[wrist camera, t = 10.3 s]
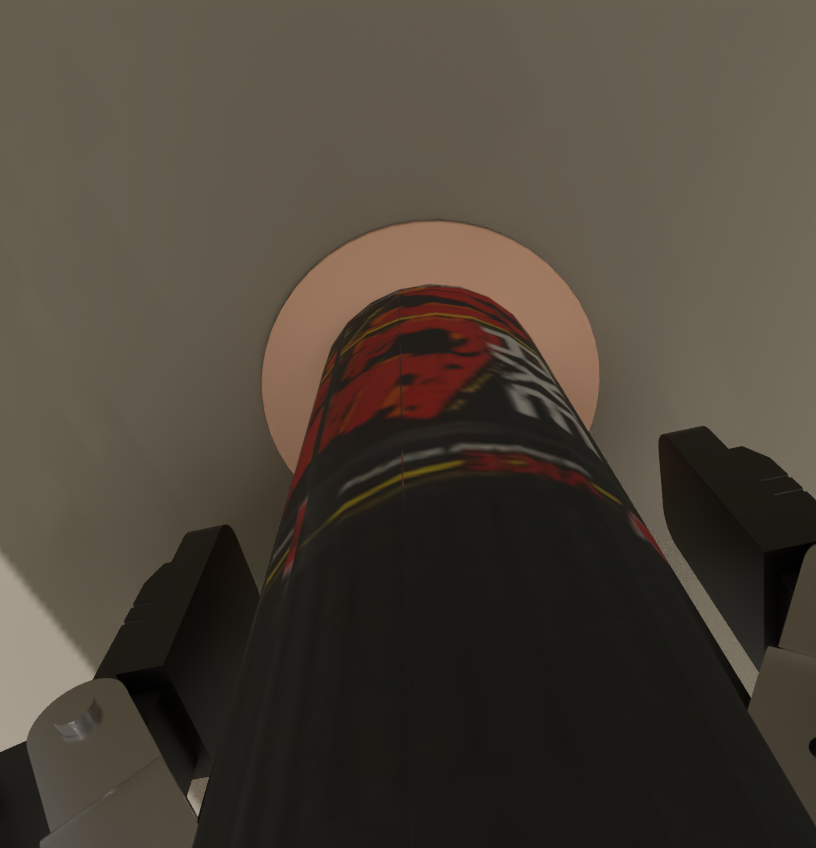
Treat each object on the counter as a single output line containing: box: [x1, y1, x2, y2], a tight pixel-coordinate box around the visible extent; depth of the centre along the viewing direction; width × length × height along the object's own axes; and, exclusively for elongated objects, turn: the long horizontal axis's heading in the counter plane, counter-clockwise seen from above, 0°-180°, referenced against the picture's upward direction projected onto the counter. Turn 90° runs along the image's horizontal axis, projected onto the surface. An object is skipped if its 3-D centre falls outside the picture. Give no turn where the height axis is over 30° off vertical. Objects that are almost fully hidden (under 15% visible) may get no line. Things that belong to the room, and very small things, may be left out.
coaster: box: [262, 219, 600, 474], centre depth 18 cm, size 9×9×1 cm
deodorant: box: [192, 284, 816, 848], centre depth 11 cm, size 6×6×15 cm
